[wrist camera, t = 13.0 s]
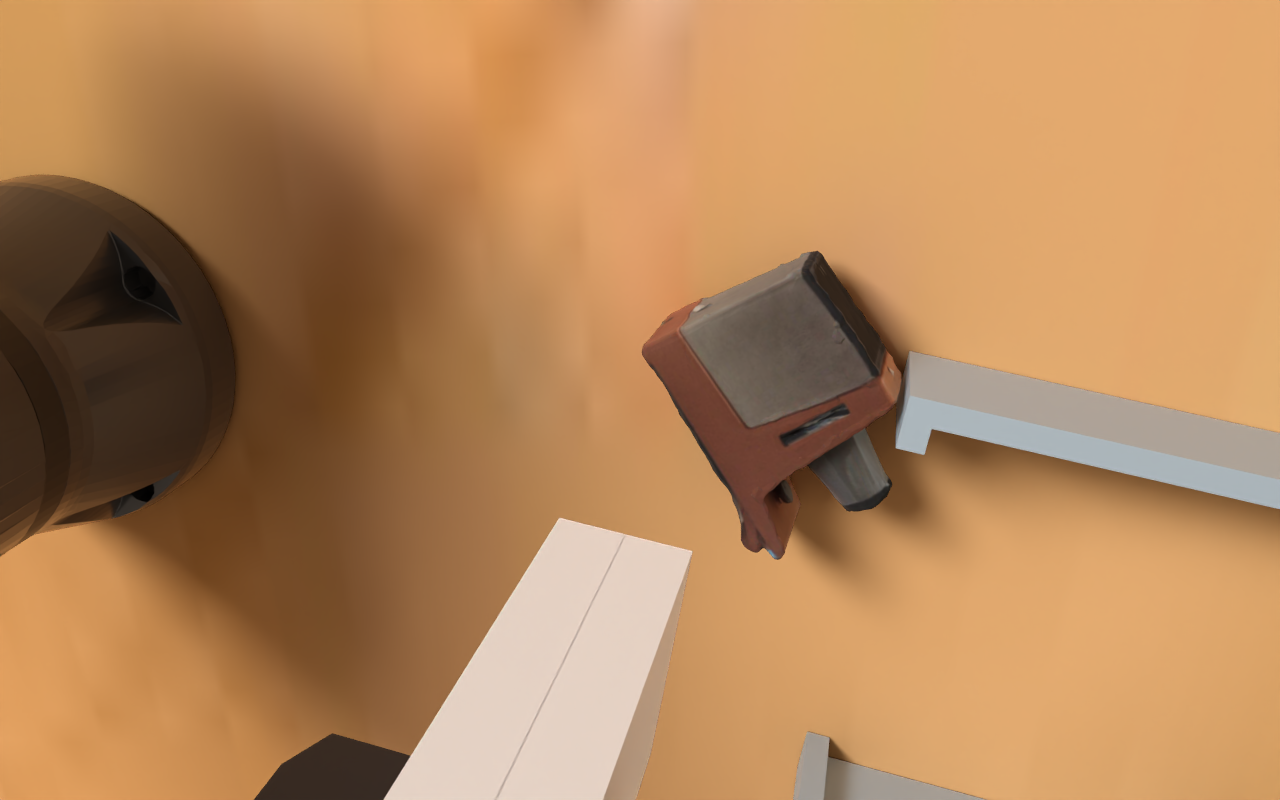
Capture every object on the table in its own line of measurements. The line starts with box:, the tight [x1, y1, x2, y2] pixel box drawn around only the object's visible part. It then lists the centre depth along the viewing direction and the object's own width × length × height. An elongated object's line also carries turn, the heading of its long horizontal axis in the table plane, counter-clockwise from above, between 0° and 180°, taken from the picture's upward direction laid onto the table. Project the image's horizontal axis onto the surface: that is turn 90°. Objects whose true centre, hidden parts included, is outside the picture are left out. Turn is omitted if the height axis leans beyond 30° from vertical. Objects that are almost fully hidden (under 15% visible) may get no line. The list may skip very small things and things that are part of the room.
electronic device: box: [642, 251, 902, 560], centre depth 43 cm, size 4×10×8 cm
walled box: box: [793, 351, 1280, 800], centre depth 44 cm, size 22×20×5 cm
